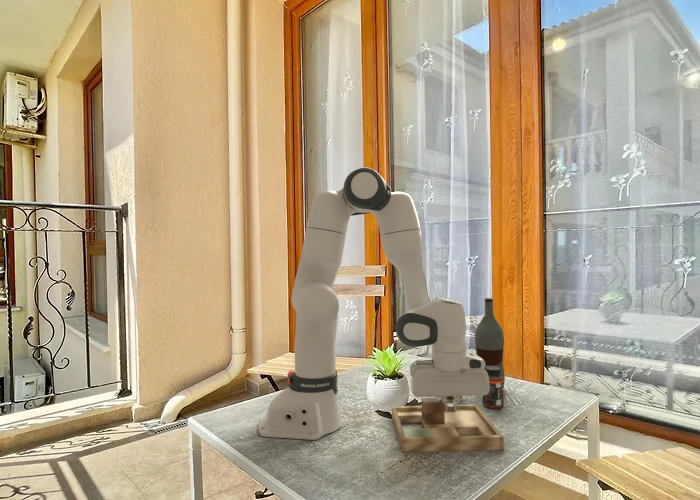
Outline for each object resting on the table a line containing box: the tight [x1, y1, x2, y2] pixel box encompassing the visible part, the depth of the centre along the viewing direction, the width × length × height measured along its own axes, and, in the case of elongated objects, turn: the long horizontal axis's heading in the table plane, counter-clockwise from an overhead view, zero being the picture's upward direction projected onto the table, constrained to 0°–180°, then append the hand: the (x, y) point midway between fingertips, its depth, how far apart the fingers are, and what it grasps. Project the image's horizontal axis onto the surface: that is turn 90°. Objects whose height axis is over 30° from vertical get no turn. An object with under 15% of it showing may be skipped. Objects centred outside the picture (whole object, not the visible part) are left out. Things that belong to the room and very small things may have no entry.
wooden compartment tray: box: [391, 403, 505, 453], centre depth 108 cm, size 24×20×3 cm
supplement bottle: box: [482, 366, 505, 410], centre depth 125 cm, size 6×6×11 cm
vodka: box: [474, 297, 506, 387], centre depth 139 cm, size 9×9×30 cm
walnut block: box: [421, 397, 445, 425], centre depth 110 cm, size 5×5×5 cm
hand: (450, 411), depth 111 cm, fingers closed
